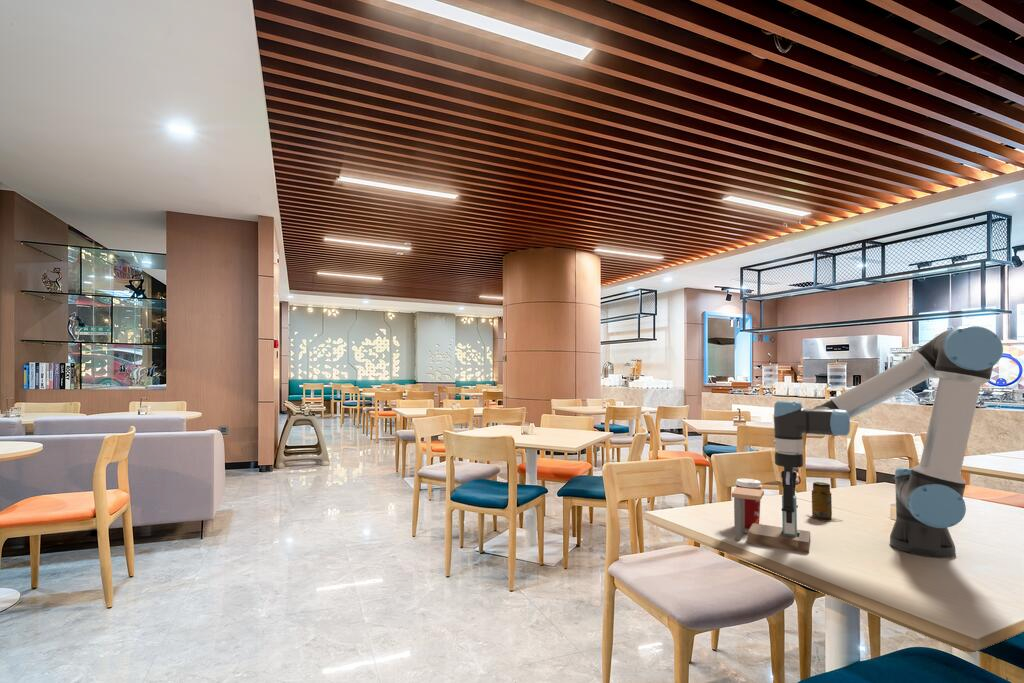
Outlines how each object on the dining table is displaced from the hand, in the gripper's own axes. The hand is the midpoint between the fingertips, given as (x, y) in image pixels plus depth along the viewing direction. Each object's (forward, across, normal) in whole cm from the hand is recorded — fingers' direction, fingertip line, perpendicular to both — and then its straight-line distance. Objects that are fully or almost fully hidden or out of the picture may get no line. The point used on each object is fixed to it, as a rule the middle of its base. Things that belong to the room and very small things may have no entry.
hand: (790, 531), depth 158 cm
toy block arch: (+4, 0, -12) cm, 12 cm away
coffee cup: (+4, -13, -13) cm, 19 cm away
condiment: (+4, -38, +8) cm, 39 cm away
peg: (+2, 0, 0) cm, 2 cm away
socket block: (+4, 0, -3) cm, 5 cm away
